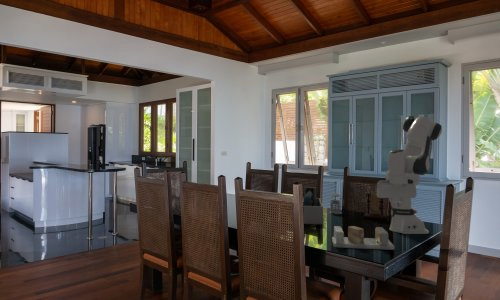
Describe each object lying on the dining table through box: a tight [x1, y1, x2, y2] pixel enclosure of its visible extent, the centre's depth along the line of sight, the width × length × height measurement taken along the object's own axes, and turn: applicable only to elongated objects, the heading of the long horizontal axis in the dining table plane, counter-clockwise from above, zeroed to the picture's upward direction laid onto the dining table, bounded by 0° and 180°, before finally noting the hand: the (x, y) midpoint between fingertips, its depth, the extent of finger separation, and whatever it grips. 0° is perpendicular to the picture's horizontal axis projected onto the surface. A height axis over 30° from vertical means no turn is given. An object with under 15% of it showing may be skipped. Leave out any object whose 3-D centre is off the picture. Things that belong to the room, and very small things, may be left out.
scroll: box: [364, 190, 387, 220], centre depth 263 cm, size 15×15×20 cm
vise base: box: [331, 225, 395, 251], centre depth 192 cm, size 30×14×8 cm, turn 81°
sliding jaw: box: [374, 226, 389, 245], centre depth 191 cm, size 4×14×6 cm, turn 171°
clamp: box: [303, 186, 317, 206], centre depth 263 cm, size 35×9×21 cm, turn 167°
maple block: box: [347, 225, 365, 243], centre depth 193 cm, size 4×8×7 cm, turn 22°
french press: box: [328, 181, 345, 215], centre depth 285 cm, size 10×12×25 cm
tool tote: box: [302, 197, 324, 225], centre depth 263 cm, size 14×40×12 cm, turn 171°
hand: (396, 206), depth 189 cm, fingers open, 2 cm apart
